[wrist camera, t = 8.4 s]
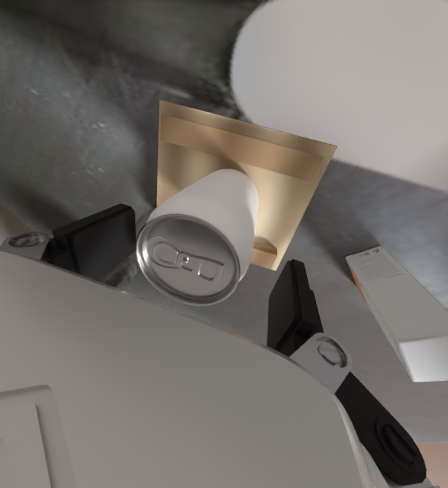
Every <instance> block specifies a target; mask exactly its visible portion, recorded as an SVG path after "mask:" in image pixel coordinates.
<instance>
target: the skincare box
mask: <svg viewBox="0 0 448 488" xmlns="http://www.w3.org/2000/svg"><path fill="white" fill-rule="evenodd" d="M345 259H346V261H347V263H348V265H349V268H350V270H351V272H352V274H353V277H354V280H355V282H356V285H357V287H358V289H359V291H360V293H361V294H362V296H363V298H364V300H365V301H366V303H367V305H368V306H369V308H370V310H371V312H372V313H373V315H374V317H375V318H376V320H377V322H378V323H379V325H380V327H381V329H382V330H383V332H384V334H385V335H386V337H387V339H388V340H389V342H390V344H391V345H392V347H393V349H394V351H395V352H396V354H397V356H398V357H399V359H400V361H401V362H402V364H403V366H404V367H405V369H406V371H407V372H408V374H409V376H410V377H411V379H412V381H413V382H427V381H448V309H447V308H445V307H444V306H443V305H442V304H441V303H440V302H439V301H438V300H437V299H436V298H435V297H434V296H433V295H432V294H431V293H430V292H429V291H428V290H427V289H426V288H425V287H424V286H423V285H422V284H421V283H420V282H418V281H417V280H416V279H415V278H414V277H413V276H412V275H411V274H410V273H409V272H408V271H407V270H406V269H405V268H404V267H403V266H402V265H401V264H400V263H399V262H398V261H397V260H396V259H395V258H394V257H393V256H392V255H391V254H390V253H389V252H388V251H387V250H386V249H385V248H384V247H382V246H379V247H375V248H372V249H369V250H366V251H363V252H360V253H357V254H353V255H350V256H347V257H345Z"/></svg>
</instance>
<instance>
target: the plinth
mask: <svg viewBox="0 0 448 488" xmlns="http://www.w3.org/2000/svg"><path fill="white" fill-rule="evenodd" d="M336 148H337V146H335V145H331V144H327V143H324V142H320V141H316V140H312V139H308V138H304V137H300V136H296V135H293V134H289V133H285V132H281V131H278V130H274V129H270V128H266V127H262V126H259V125H255V124H251V123H247V122H243V121H240V120H236V119H232V118H228V117H224V116H220V115H217V114H213V113H209V112H205V111H201V110H197V109H194V108H190V107H186V106H182V105H178V104H175V103H171V102H167V101H163V100H159V138H158V176H157V207H158V206H159V205H160V204H161V203H163V202H164V201H166V200H167V199H169V198H170V197H172V196H173V195H175V194H177V193H178V192H180V191H182V190H183V189H185V188H187V187H188V186H190V185H192V184H194V183H195V182H197V181H199V180H200V179H202V178H204V177H206V176H207V175H209V174H211V173H213V172H215V171H217V170H221V169H234V170H238V171H240V172H242V173H244V174H245V175H247V176H248V177H249V178H250V179H251V180H252V181H253V183H254V184H255V186H256V188H257V191H258V195H259V209H258V216H257V223H256V231H255V237H254V244H253V251H252V256H251V261H250V263H252V264H255V265H258V266H261V267H265V268H268V269H272V270H275V271H276V269H277V267H278V265H279V263H280V261H281V259H282V257H283V255H284V253H285V251H286V249H287V247H288V245H289V243H290V241H291V239H292V237H293V235H294V233H295V231H296V229H297V227H298V225H299V223H300V221H301V219H302V217H303V215H304V212H305V210H306V208H307V206H308V204H309V202H310V200H311V198H312V196H313V194H314V192H315V190H316V188H317V186H318V184H319V182H320V180H321V178H322V176H323V174H324V172H325V170H326V168H327V166H328V164H329V162H330V160H331V158H332V156H333V154H334V152H335V150H336Z"/></svg>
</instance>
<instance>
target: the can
mask: <svg viewBox="0 0 448 488" xmlns="http://www.w3.org/2000/svg"><path fill="white" fill-rule="evenodd" d="M258 209H259V195H258V191H257V188H256V186H255V184H254V183H253V181H252V180H251V179H250V178H249V177H248V176H247V175H245V174H244V173H242V172H240V171H238V170H234V169H221V170H217V171H215V172H213V173H211V174H209V175H207V176H206V177H204V178H202V179H200V180H199V181H197V182H195V183H194V184H192V185H190V186H188V187H187V188H185V189H183V190H182V191H180V192H178V193H177V194H175V195H173V196H172V197H170V198H169V199H167V200H166V201H164V202H163V203H161V204H160V205H159V206H158V207H157V208H156V209H155V210H154V211H153V212H152V214H151V215H150V217H149V219H148V221H147V223H146V224H145V225H144V226H143V228H142V229H141V230H140V232H139V234H138V236H137V239H136V245H135V253H136V258H137V262H138V264H139V267H140V269H141V271H142V273H143V274H144V276H145V277H146V278H147V280H148V281H149V282H150V283H151V284H152V285H153V286H154V287H155V288H156V289H157V290H159V291H160V292H161V293H163V294H164V295H166V296H168V297H170V298H171V299H174V300H176V301H178V302H181V303H185V304H189V305H196V306H205V305H212V304H216V303H218V302H221V301H223V300H224V299H226V298H227V297H229V296H230V295H231V294H232V293H233V292H234V290H235V289H236V287H237V285H238V282H239V281H240V280H241V279H242V277H243V276H244V275H245V273H246V271H247V269H248V267H249V264H250V261H251V256H252V251H253V244H254V237H255V231H256V223H257V216H258Z"/></svg>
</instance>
